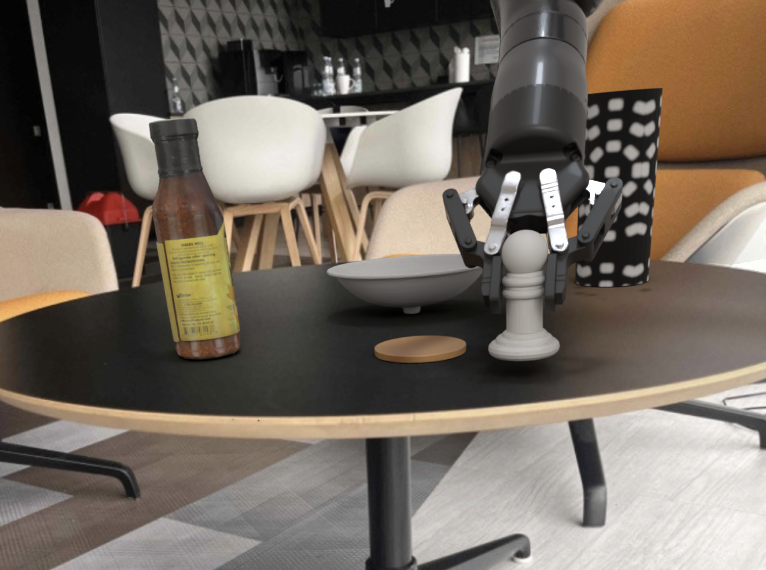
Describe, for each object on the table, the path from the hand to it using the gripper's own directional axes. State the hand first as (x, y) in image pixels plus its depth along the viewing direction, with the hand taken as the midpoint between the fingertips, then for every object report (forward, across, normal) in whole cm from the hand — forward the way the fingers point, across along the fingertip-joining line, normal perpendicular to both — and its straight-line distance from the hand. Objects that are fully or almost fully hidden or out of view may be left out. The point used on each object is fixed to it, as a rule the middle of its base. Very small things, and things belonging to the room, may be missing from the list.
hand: (522, 306), depth 63 cm
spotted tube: (-28, +6, +36) cm, 46 cm away
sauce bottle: (-3, -30, +10) cm, 32 cm away
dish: (-16, -14, +24) cm, 32 cm away
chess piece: (+2, 0, +4) cm, 5 cm away
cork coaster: (-3, -10, +11) cm, 15 cm away
